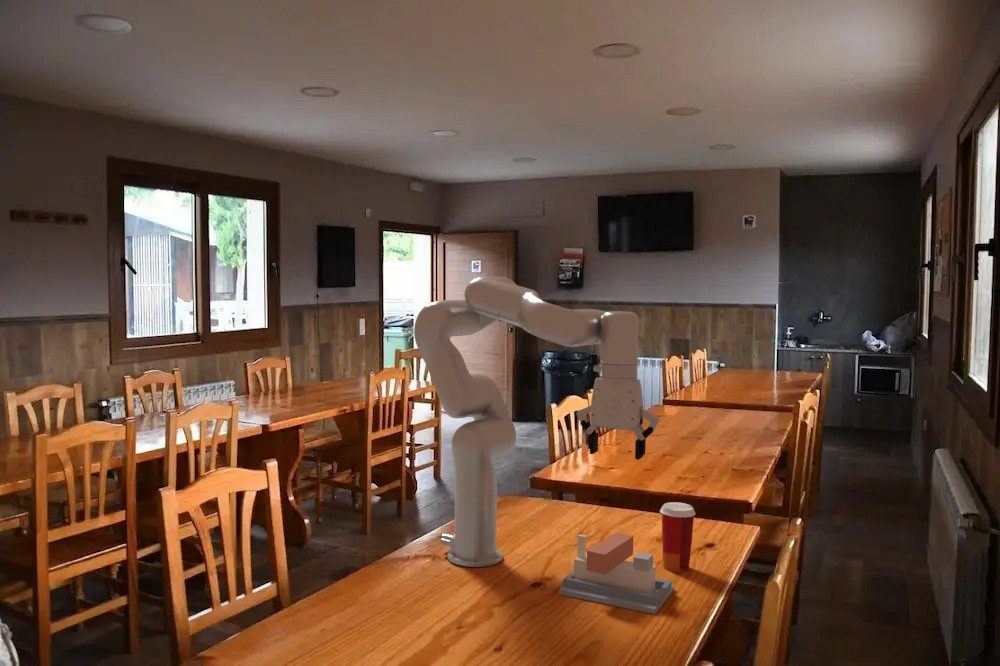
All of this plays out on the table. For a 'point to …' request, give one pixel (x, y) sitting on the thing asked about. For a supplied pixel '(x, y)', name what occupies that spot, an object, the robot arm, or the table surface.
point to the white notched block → (618, 571)
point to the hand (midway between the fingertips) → (616, 455)
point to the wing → (609, 553)
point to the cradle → (618, 594)
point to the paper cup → (677, 535)
